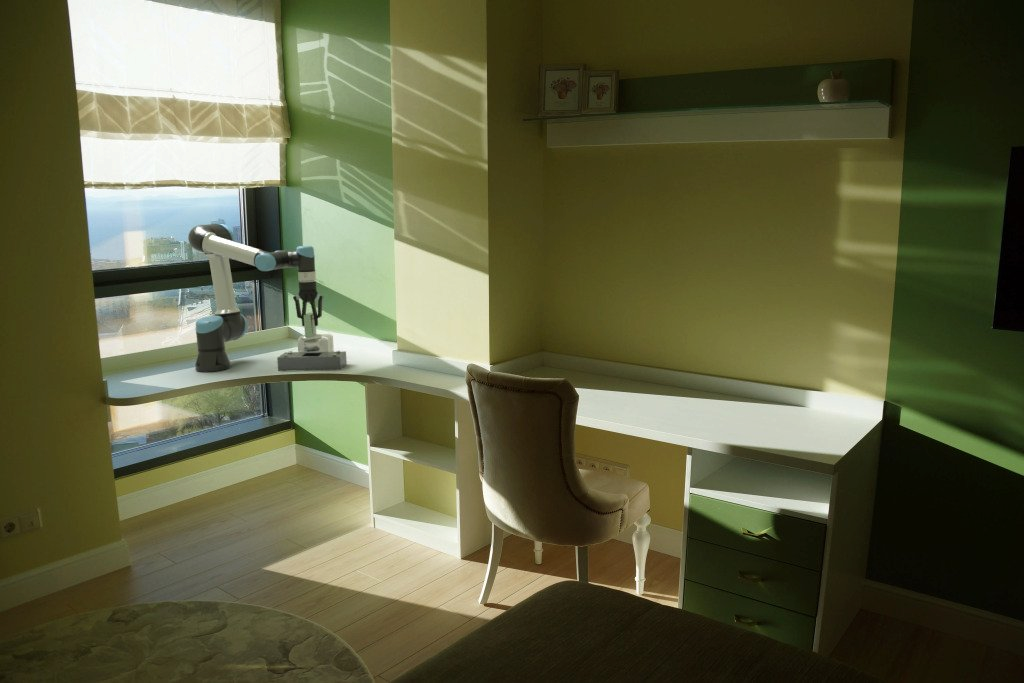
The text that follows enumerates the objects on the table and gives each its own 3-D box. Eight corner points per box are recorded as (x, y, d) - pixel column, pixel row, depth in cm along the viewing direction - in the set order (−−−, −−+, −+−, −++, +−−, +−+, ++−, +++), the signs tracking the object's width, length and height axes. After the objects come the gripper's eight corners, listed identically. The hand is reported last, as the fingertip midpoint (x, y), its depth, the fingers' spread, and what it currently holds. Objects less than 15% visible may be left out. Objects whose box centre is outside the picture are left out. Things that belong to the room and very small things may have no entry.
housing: (278, 370, 370) (277, 355, 369) (286, 365, 382) (285, 350, 381) (340, 369, 369) (339, 354, 368) (346, 364, 381) (345, 349, 380)
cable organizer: (336, 357, 399) (334, 333, 397) (328, 361, 388) (327, 337, 386) (305, 357, 401) (304, 333, 398) (297, 361, 390) (296, 337, 388)
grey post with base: (298, 352, 370) (295, 315, 367) (304, 348, 379) (301, 312, 376) (319, 352, 369) (317, 315, 366) (325, 347, 379) (322, 312, 376)
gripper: (286, 282, 365) (290, 334, 369) (323, 281, 365) (326, 334, 369) (291, 280, 372) (295, 332, 377) (327, 279, 372) (330, 331, 376)
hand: (310, 333), depth 373 cm, fingers closed on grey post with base, 3 cm apart
